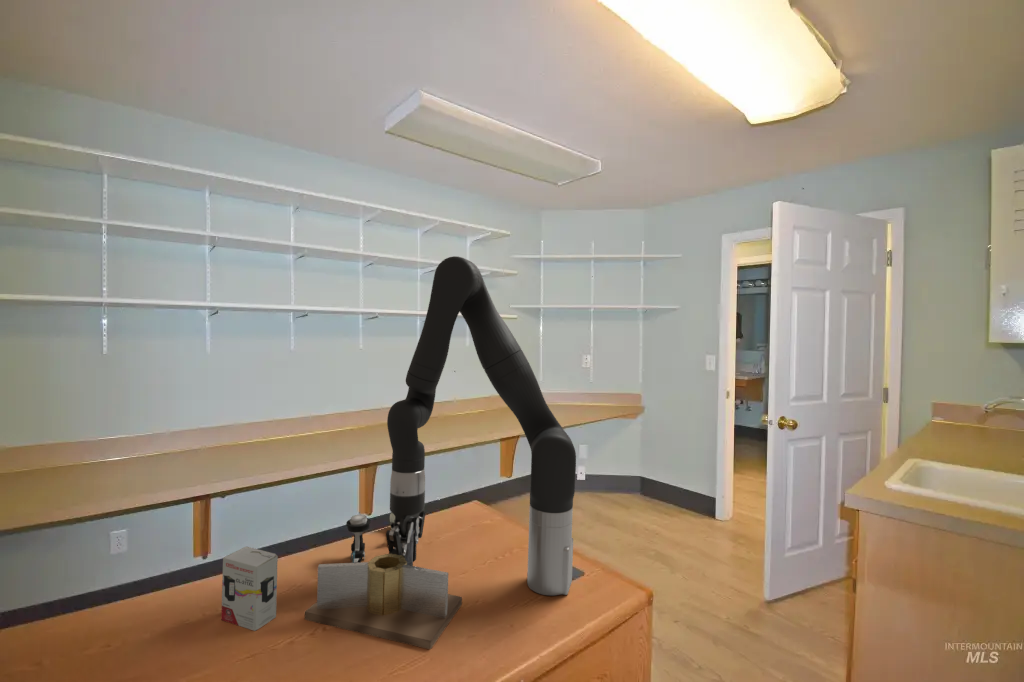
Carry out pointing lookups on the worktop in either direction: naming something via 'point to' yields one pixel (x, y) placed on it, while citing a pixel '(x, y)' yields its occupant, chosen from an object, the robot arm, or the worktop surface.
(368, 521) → the push button
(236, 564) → the ink box
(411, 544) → the hinge pin
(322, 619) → the board
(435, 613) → the hinge knuckles
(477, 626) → the worktop surface
